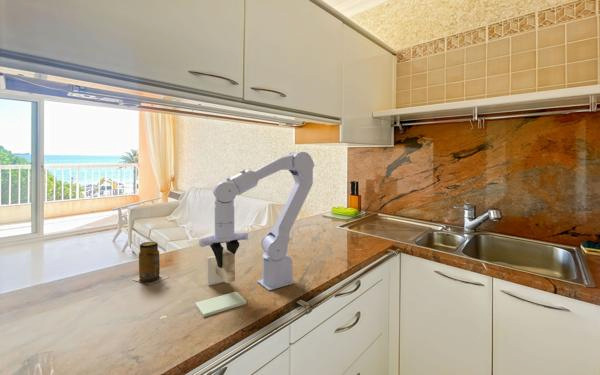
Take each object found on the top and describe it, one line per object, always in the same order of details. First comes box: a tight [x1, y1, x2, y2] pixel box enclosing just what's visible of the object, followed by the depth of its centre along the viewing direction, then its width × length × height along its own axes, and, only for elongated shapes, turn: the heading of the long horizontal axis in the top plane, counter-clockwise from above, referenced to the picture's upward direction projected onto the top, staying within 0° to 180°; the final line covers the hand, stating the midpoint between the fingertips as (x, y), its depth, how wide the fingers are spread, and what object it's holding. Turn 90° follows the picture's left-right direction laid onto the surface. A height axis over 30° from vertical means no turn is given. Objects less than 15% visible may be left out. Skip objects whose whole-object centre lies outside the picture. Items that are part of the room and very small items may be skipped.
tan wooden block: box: [216, 246, 236, 284], centre depth 85 cm, size 2×9×8 cm, turn 37°
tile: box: [206, 255, 226, 286], centre depth 91 cm, size 6×1×9 cm, turn 126°
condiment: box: [132, 241, 169, 286], centre depth 92 cm, size 7×8×12 cm
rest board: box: [194, 291, 248, 318], centre depth 77 cm, size 12×7×1 cm, turn 126°
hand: (224, 265), depth 85 cm, fingers closed on tan wooden block, 2 cm apart
